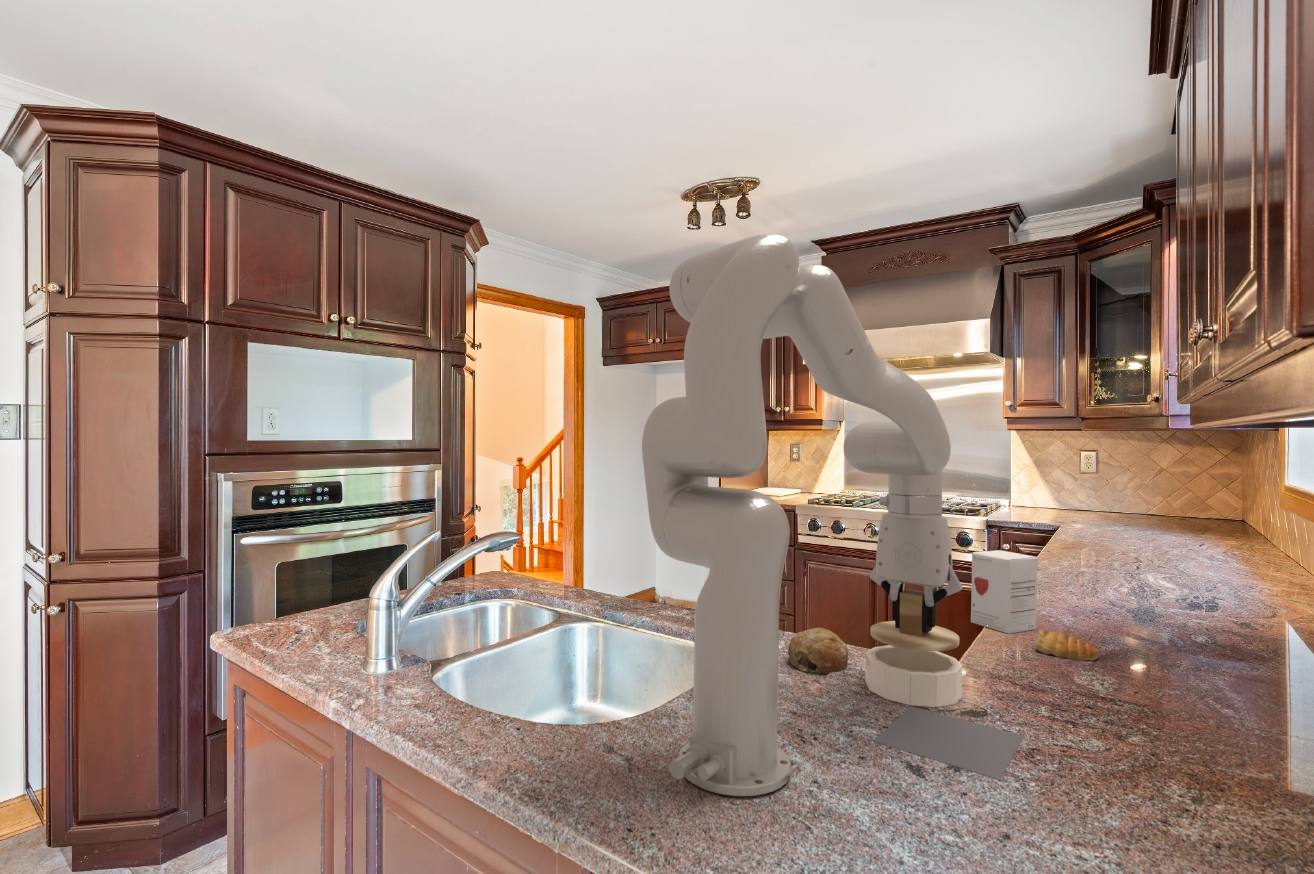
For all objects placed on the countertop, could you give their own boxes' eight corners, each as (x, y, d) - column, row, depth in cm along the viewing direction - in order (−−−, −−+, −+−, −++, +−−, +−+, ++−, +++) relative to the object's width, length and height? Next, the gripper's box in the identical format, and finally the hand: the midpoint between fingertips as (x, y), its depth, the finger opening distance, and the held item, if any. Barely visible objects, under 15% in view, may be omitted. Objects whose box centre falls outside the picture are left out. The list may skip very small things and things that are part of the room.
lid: (945, 657, 89) (946, 607, 89) (857, 639, 97) (858, 593, 97) (969, 636, 99) (969, 591, 99) (887, 621, 107) (887, 579, 107)
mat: (999, 785, 71) (999, 779, 71) (873, 745, 80) (873, 740, 80) (1024, 740, 82) (1024, 736, 82) (910, 710, 91) (910, 706, 91)
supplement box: (969, 622, 137) (969, 551, 137) (998, 618, 141) (999, 549, 141) (1008, 634, 129) (1009, 558, 129) (1038, 629, 133) (1039, 556, 133)
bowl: (945, 718, 88) (946, 681, 88) (853, 693, 97) (853, 660, 97) (970, 691, 98) (970, 657, 99) (884, 670, 107) (884, 640, 107)
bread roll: (783, 686, 109) (778, 649, 106) (798, 645, 117) (794, 609, 114) (843, 698, 104) (839, 659, 101) (855, 654, 113) (852, 617, 110)
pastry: (1100, 656, 117) (1100, 635, 117) (1095, 666, 112) (1095, 644, 112) (1040, 645, 123) (1040, 625, 123) (1033, 654, 118) (1033, 633, 118)
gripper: (852, 504, 100) (851, 624, 100) (967, 512, 90) (966, 646, 90) (870, 501, 106) (869, 614, 106) (980, 508, 96) (979, 633, 95)
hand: (913, 627), depth 98 cm, fingers closed on lid, 3 cm apart
